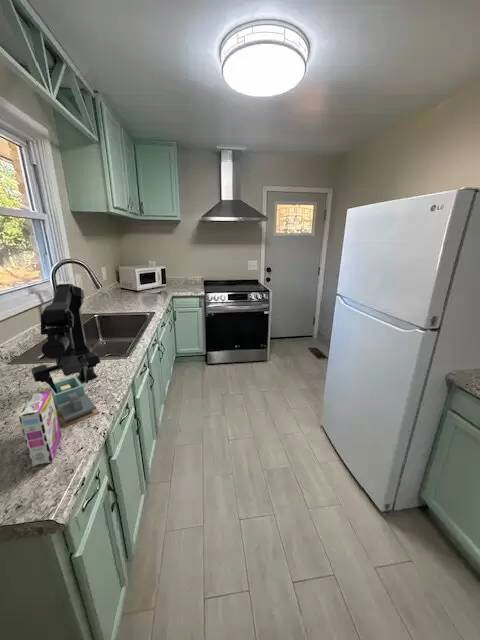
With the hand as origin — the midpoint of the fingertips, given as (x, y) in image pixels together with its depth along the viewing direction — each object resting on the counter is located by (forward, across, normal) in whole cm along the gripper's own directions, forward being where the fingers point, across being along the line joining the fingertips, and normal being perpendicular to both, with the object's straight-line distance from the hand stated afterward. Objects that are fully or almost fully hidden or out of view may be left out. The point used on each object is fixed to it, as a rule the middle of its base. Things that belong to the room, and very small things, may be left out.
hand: (72, 387), depth 92 cm
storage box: (+10, 0, +12) cm, 16 cm away
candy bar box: (+10, -11, -14) cm, 20 cm away
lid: (+10, 0, 0) cm, 10 cm away
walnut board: (+10, 0, 0) cm, 10 cm away
